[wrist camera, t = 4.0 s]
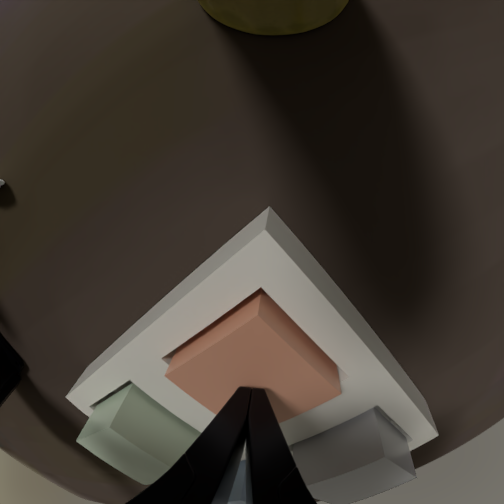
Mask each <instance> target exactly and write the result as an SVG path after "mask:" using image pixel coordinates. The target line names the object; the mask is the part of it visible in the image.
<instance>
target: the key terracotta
mask: <svg viewBox="0 0 504 504" xmlns="http://www.w3.org/2000/svg"><path fill="white" fill-rule="evenodd" d="M164 376H165V377H166V378H168V379H169V380H170V381H171V382H173V383H174V384H175V385H176V386H178V387H179V388H180V389H181V390H183V391H184V392H185V393H187V394H188V395H189V396H191V397H192V398H193V399H195V400H196V401H197V402H199V403H200V404H201V405H203V406H204V407H206V408H207V409H208V410H210V411H211V412H213V413H214V414H216V415H217V414H218V412H219V411H220V410H221V409H222V407H223V406H224V405H225V404H226V402H227V401H228V400H229V399H230V397H231V396H232V395H233V394H234V392H235V391H236V390H237V388H238V387H240V386H245V387H251V388H263V389H265V391H266V393H267V396H268V398H269V401H270V403H271V406H272V408H273V410H274V413H275V415H276V418H277V420H278V423H281V422H284V421H286V420H288V419H291V418H293V417H295V416H298V415H300V414H302V413H304V412H306V411H308V410H310V409H313V408H315V407H317V406H319V405H321V404H323V403H325V402H327V401H329V400H331V399H333V398H335V397H337V396H338V395H340V394H342V393H341V388H340V382H339V376H338V371H337V365H336V363H335V362H334V361H333V360H332V359H331V358H330V357H329V356H328V355H327V354H326V353H325V352H324V351H323V350H322V349H321V348H320V347H319V346H318V345H317V344H316V343H315V342H314V341H313V340H312V339H311V338H310V337H309V336H308V335H307V334H306V333H305V332H304V331H303V330H302V329H301V328H300V327H299V326H298V325H297V324H296V323H295V322H294V321H293V320H292V319H291V318H290V317H289V316H288V315H287V313H286V312H285V311H284V310H283V309H282V308H281V307H280V306H279V305H278V304H277V303H276V302H275V301H274V300H273V299H272V298H271V297H270V296H269V295H268V294H267V293H266V292H265V291H264V290H263V289H262V288H261V287H260V288H259V289H258V290H256V291H255V292H254V293H252V294H251V295H250V296H248V297H247V298H245V299H244V300H243V301H241V302H240V303H239V304H237V305H236V306H235V307H233V308H232V309H230V310H229V311H228V312H226V313H225V314H223V315H222V316H221V317H219V318H218V319H217V320H215V321H214V322H212V323H211V324H210V325H208V326H207V327H205V328H204V329H203V330H201V331H200V332H198V333H197V334H196V335H194V336H193V337H191V338H190V339H188V340H187V341H186V342H184V343H183V344H181V345H180V346H178V348H177V350H176V352H175V354H174V356H173V358H172V360H171V362H170V365H169V367H168V369H167V371H166V373H165V375H164Z"/></svg>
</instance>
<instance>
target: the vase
mask: <svg viewBox="0 0 504 504" xmlns="http://www.w3.org/2000/svg"><path fill="white" fill-rule="evenodd" d="M198 1H199V3H200V5H201V6H202V7H203V9H204V10H205V11H206V12H207V13H208V14H209V15H210V16H212V17H213V18H214V19H216V20H217V21H219V22H221V23H222V24H224V25H227V26H229V27H231V28H234V29H237V30H240V31H244V32H247V33H252V34H258V35H287V34H297V33H302V32H306V31H309V30H312V29H315V28H317V27H320V26H322V25H324V24H326V23H328V22H330V21H331V20H333V19H334V18H335V17H336V16H338V15H339V13H340V12H341V11H342V10H343V9H344V7H345V6H346V4H347V3H348V1H349V0H198Z"/></svg>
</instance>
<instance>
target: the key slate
mask: <svg viewBox="0 0 504 504" xmlns="http://www.w3.org/2000/svg"><path fill="white" fill-rule="evenodd" d="M227 504H246V460H242V461H240V465H239V468H238V471H237V475H236V478H235V481H234V484H233V488H232V491H231V494H230V497H229V500H228V503H227Z"/></svg>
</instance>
